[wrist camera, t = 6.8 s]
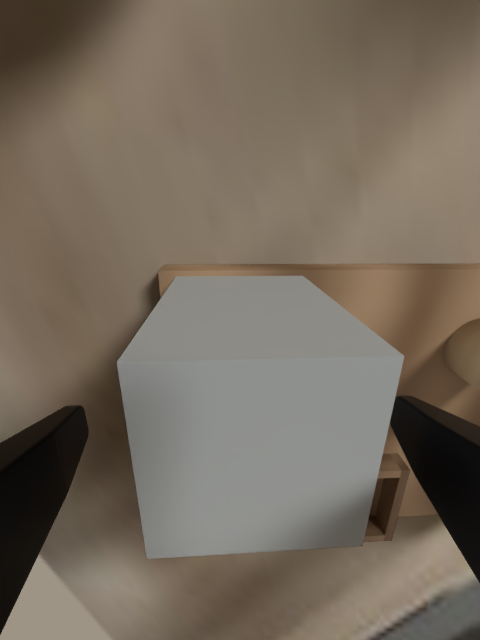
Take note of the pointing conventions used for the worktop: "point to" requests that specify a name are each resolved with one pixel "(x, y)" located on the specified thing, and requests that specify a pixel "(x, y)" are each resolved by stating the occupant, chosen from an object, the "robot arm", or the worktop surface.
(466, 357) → the peg
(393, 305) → the board
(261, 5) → the worktop surface
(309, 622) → the worktop surface
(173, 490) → the block
